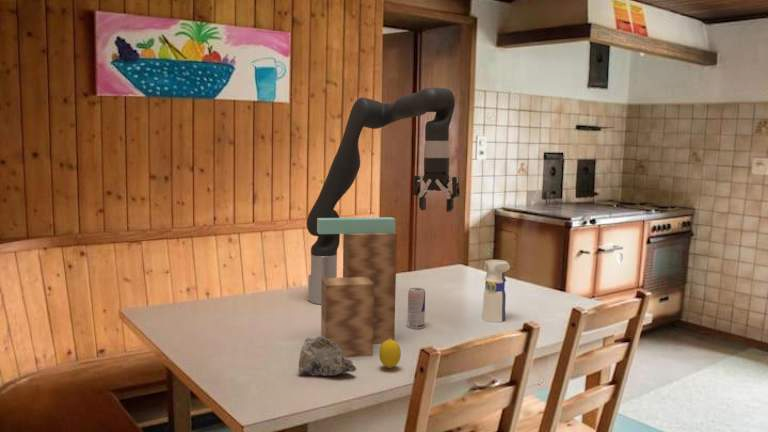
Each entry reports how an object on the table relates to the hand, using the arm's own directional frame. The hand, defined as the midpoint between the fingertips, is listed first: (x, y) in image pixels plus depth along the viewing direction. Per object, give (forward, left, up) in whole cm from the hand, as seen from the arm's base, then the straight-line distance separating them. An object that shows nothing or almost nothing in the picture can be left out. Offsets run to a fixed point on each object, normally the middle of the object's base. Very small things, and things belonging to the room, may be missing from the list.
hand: (435, 210), depth 196 cm
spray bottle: (+12, +24, -38) cm, 47 cm away
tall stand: (-14, -16, -38) cm, 43 cm away
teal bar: (-17, -18, -6) cm, 26 cm away
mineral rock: (-10, -46, -38) cm, 60 cm away
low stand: (-14, -28, -38) cm, 49 cm away
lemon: (+2, -34, -38) cm, 51 cm away
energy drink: (-7, +3, -38) cm, 39 cm away
